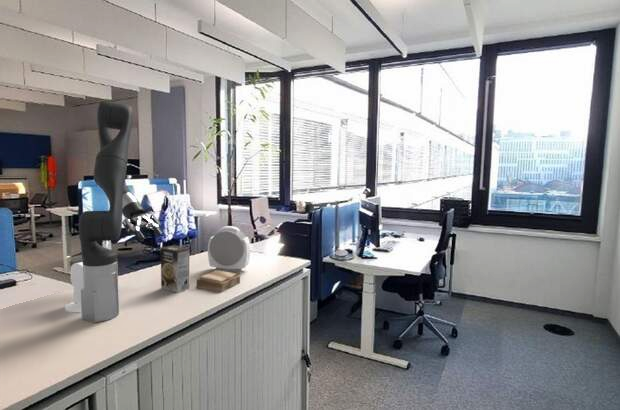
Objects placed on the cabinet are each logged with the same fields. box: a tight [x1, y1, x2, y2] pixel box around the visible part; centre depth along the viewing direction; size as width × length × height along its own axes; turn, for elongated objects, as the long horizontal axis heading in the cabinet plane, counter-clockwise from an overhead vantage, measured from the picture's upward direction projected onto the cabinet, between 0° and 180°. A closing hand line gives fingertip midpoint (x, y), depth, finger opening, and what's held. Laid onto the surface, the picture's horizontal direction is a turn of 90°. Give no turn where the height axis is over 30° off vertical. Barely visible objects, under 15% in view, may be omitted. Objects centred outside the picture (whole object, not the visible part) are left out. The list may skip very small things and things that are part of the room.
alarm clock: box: [207, 225, 251, 274], centre depth 162 cm, size 18×8×20 cm, turn 84°
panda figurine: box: [64, 258, 84, 313], centre depth 119 cm, size 12×11×15 cm
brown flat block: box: [196, 269, 241, 293], centre depth 143 cm, size 12×12×4 cm
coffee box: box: [159, 244, 191, 294], centre depth 137 cm, size 9×6×16 cm
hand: (152, 238), depth 140 cm, fingers open, 8 cm apart
